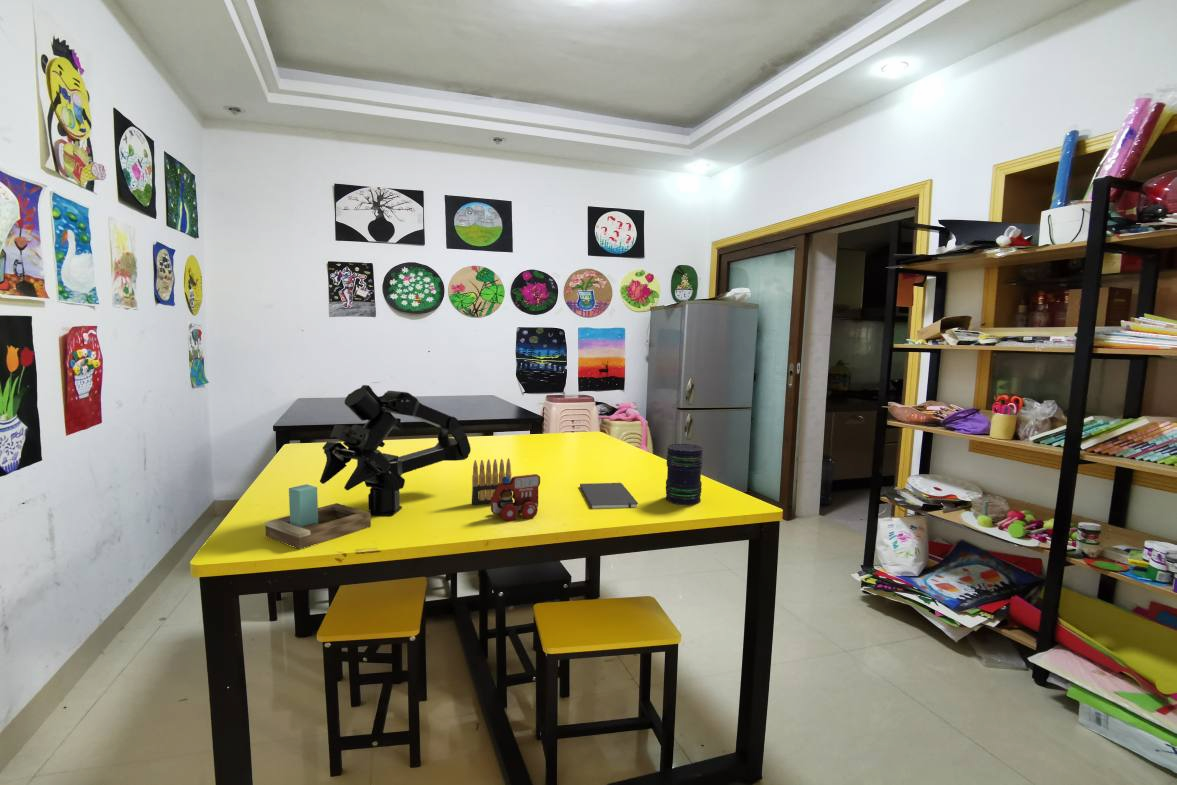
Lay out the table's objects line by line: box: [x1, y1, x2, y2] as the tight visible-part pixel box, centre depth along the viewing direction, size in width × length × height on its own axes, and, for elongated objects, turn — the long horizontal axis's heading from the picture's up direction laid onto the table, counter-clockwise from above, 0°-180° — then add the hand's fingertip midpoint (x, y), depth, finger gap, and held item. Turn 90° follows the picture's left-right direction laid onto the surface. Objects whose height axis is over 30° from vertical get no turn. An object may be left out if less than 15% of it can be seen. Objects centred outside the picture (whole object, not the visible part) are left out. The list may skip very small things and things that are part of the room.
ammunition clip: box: [471, 458, 513, 506], centre depth 148 cm, size 11×2×12 cm, turn 109°
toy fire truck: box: [490, 473, 541, 522], centre depth 138 cm, size 7×12×10 cm, turn 113°
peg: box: [288, 483, 319, 527], centre depth 122 cm, size 7×7×11 cm
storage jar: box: [665, 443, 704, 506], centre depth 154 cm, size 10×10×15 cm
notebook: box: [579, 482, 639, 510], centre depth 157 cm, size 13×2×21 cm
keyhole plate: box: [264, 502, 372, 550], centre depth 125 cm, size 17×13×3 cm
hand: (333, 486), depth 127 cm, fingers open, 9 cm apart
